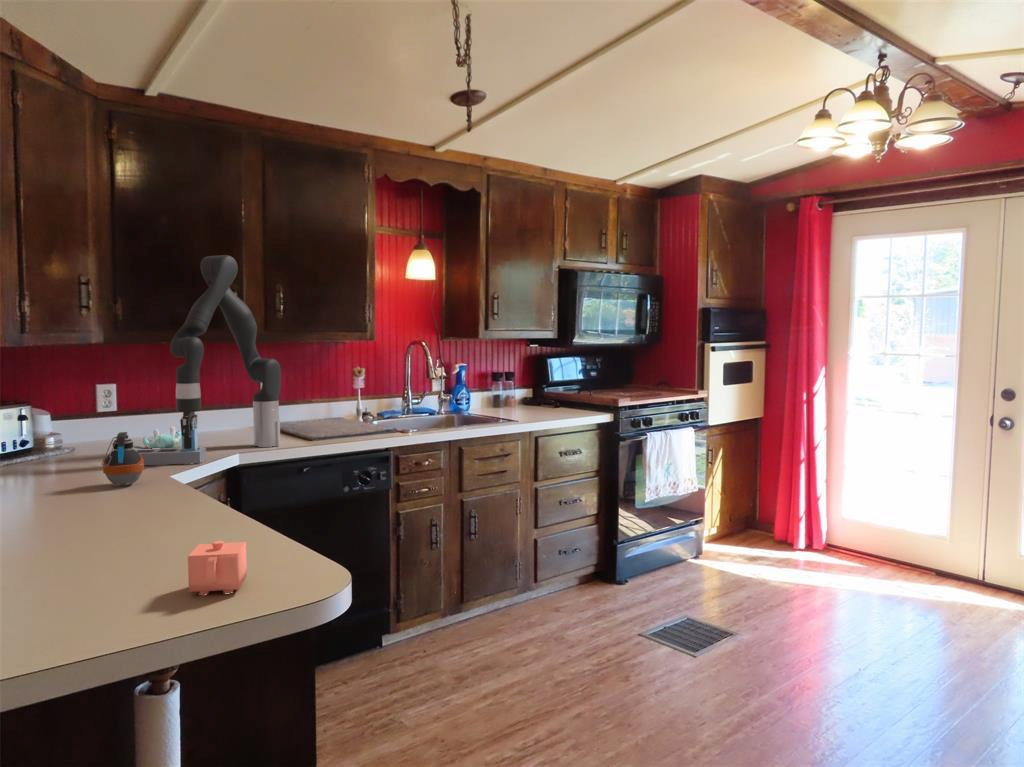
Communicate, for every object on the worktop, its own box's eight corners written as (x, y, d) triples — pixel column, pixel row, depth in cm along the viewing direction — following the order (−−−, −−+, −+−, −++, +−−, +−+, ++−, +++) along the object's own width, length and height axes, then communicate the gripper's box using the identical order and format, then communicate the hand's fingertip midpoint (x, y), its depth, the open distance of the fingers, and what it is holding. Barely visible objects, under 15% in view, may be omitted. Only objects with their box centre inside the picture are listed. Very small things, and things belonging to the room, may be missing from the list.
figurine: (182, 425, 287) (179, 431, 259) (184, 440, 287) (181, 448, 260) (145, 430, 282) (138, 437, 254) (148, 446, 282) (141, 454, 255)
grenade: (106, 483, 204) (104, 431, 202) (146, 480, 207) (144, 429, 206) (99, 491, 193) (97, 436, 192) (141, 488, 197) (139, 434, 196)
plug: (198, 460, 240) (197, 428, 239) (195, 462, 236) (194, 429, 235) (185, 460, 239) (184, 428, 238) (182, 463, 235) (181, 430, 234)
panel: (206, 458, 243) (205, 447, 243) (200, 463, 234) (199, 451, 233) (136, 461, 238) (135, 449, 238) (126, 466, 229) (126, 454, 228)
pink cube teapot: (250, 575, 127) (249, 530, 127) (236, 600, 115) (235, 550, 115) (204, 577, 126) (202, 532, 125) (185, 603, 114) (184, 552, 114)
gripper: (195, 398, 230) (197, 450, 231) (204, 394, 244) (206, 443, 245) (170, 398, 228) (172, 451, 229) (181, 395, 242) (182, 444, 243)
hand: (189, 447), depth 237 cm, fingers open, 5 cm apart
